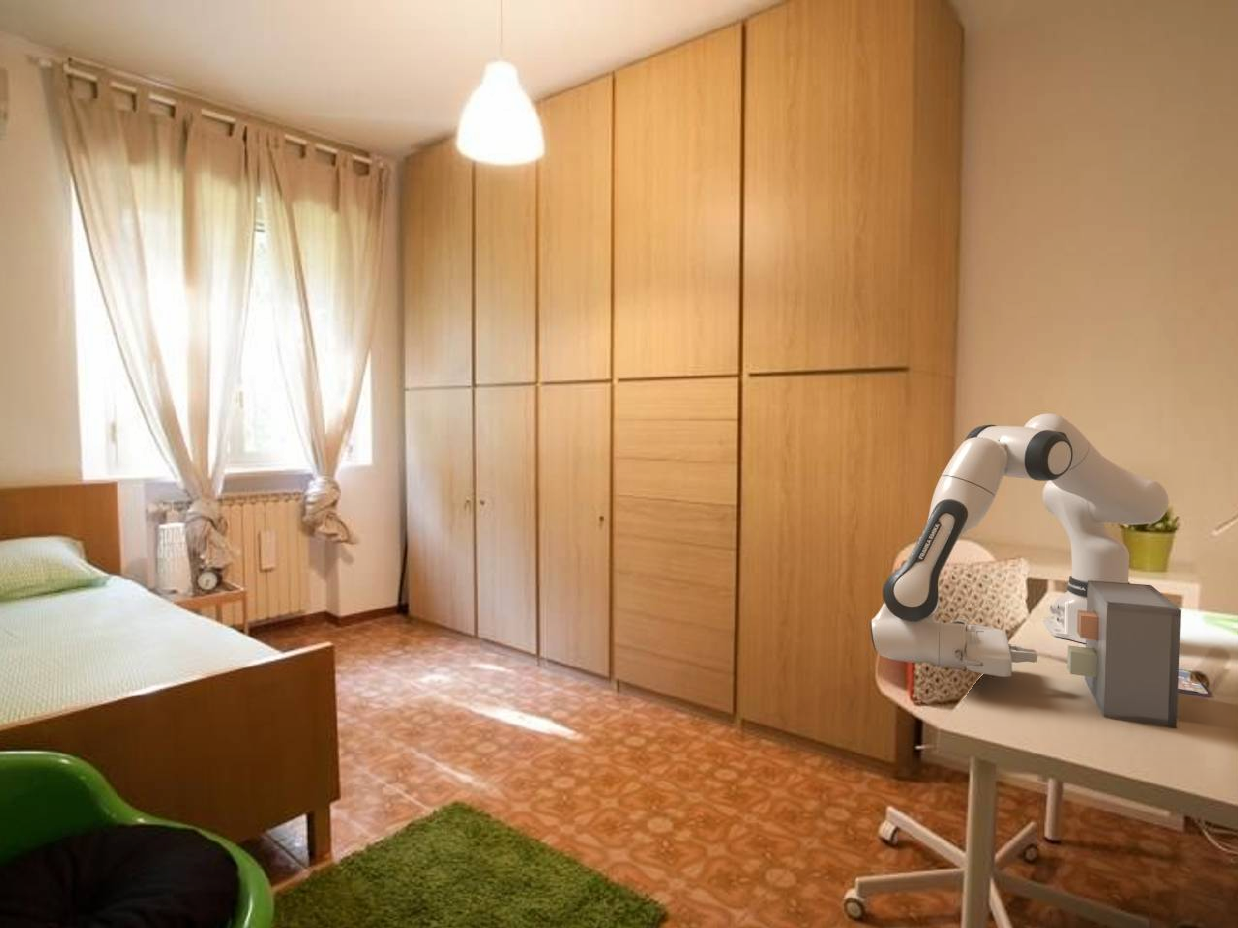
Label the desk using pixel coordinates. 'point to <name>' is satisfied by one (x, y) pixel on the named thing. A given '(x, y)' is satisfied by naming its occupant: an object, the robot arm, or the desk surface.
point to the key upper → (1087, 624)
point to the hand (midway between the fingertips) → (1036, 656)
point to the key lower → (1082, 661)
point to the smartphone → (1190, 686)
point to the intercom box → (1135, 653)
